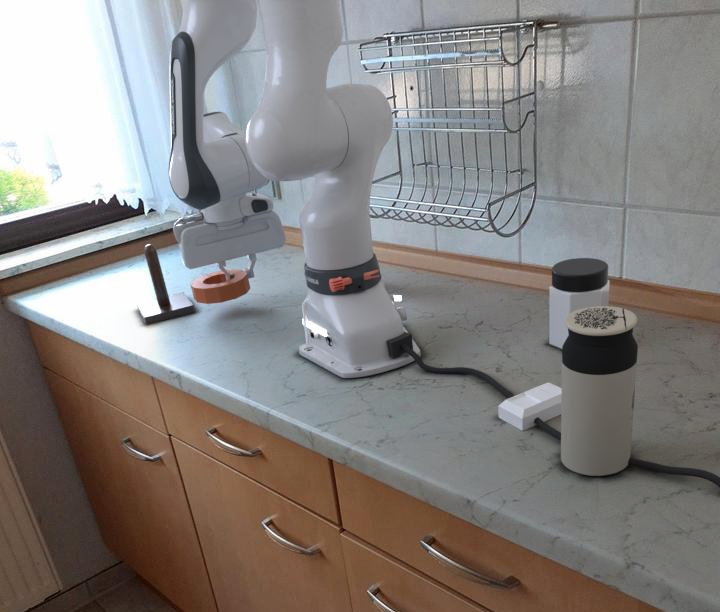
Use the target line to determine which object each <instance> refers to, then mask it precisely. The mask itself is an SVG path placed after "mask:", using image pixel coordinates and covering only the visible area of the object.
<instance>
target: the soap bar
mask: <svg viewBox="0 0 720 612" xmlns="http://www.w3.org/2000/svg"><path fill="white" fill-rule="evenodd" d="M561 405H562V387H559V386H558V385H555V384H553V383H551V382H546V383H543V384H541V385H538V386H536V387H535V386H534V387H533V388H531V389H528V390H525V391H523V392H521V393H519V394H516V395H514V396H513V397H511V398H506V399H504V401H502V402H501V403H500V404H499V405H498V406H497V408H498V409H497V410H498V411H497V413H498V419H500V420H502V421H504V422H506V423H508V424H509V425H510V426H513V427H515V428H516V429H518V430H519V431H522V432H523V431H526V430H528V429H531V428H533V427H535V426H537V425H536V424H535V423H534V420H535V418H537V417H538V418H540V419H541V420H542V421H543V422H545V423H546V421H549V420H551V419H554V418H556V417H558V416H561Z"/></svg>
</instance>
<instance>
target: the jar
mask: <svg viewBox="0 0 720 612" xmlns="http://www.w3.org/2000/svg"><path fill="white" fill-rule="evenodd" d="M610 283H611V281H610V279H609V264H608V263H607V262H606V261H604V260H602V259H598V258H592V257H577V258H569V259H565V260H564V259H563V260H561V261H558V262H556V263H555V264H553V266H552V267H551V285H550V286H549V291H548V292H549V293H548V294H549V295H548V296H549V297H548V298H549V299H548V300H549V301H548V302H549V303H548V304H549V305H548V306H549V309H548V310H549V311H548V313H549V317H548V318H549V319H548V321H549V323H548V328H549V330H548V331H549V332H548V335H549V336H548V338H549V340H548V343H549V345H550V346H553V347H556V348H558V349H560V350H562V346H563V344H564V342H565V341H566V339H567V337H568V335H569V333H568V328H567V327H566V325H565V319H566V317H567V316H568V315H569V314H570V313H572V312H574V311H576V310H579V309H583V308H588V307H595V306H610V305H609V304H610Z"/></svg>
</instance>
